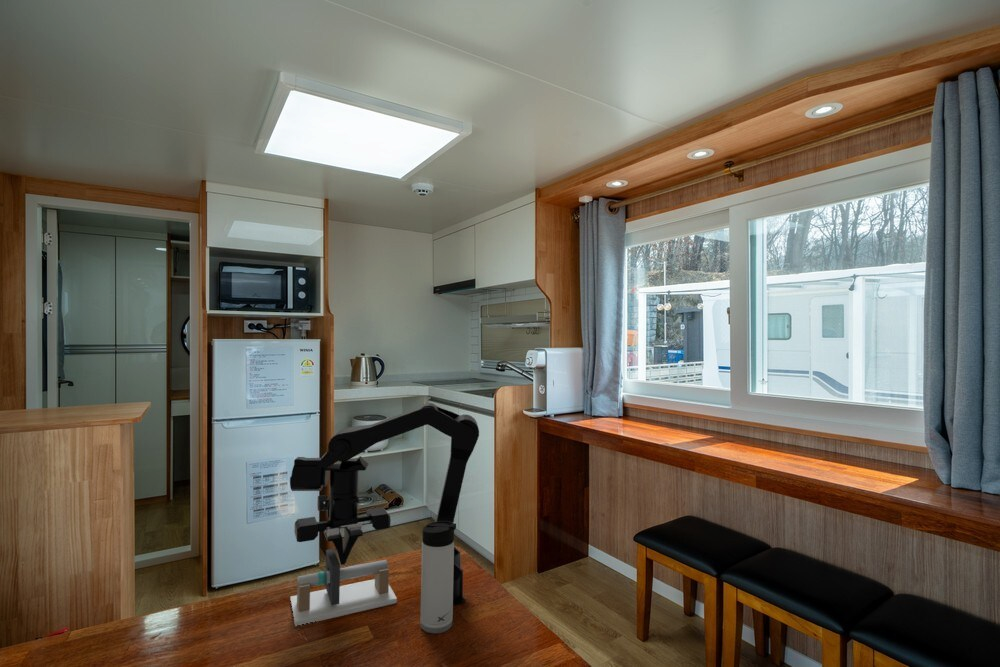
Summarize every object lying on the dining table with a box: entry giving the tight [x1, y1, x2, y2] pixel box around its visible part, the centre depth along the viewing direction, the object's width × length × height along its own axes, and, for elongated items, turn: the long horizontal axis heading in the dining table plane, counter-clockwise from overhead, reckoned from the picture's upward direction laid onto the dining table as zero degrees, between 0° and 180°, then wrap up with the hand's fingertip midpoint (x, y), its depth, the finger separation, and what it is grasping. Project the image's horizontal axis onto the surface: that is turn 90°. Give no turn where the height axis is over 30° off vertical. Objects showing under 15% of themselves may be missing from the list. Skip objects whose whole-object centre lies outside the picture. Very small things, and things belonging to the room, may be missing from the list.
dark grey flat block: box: [325, 548, 341, 605], centre depth 107 cm, size 2×8×8 cm, turn 27°
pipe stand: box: [289, 559, 398, 627], centre depth 108 cm, size 20×10×7 cm, turn 117°
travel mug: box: [419, 521, 457, 634], centre depth 101 cm, size 6×7×20 cm
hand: (342, 564), depth 108 cm, fingers closed
